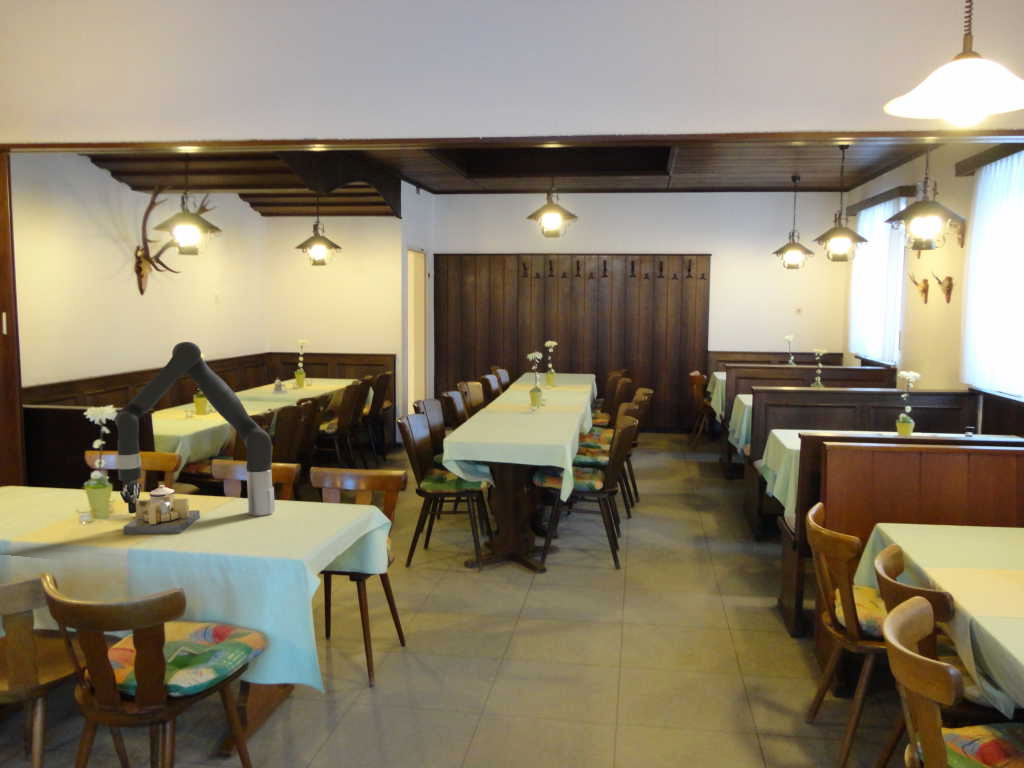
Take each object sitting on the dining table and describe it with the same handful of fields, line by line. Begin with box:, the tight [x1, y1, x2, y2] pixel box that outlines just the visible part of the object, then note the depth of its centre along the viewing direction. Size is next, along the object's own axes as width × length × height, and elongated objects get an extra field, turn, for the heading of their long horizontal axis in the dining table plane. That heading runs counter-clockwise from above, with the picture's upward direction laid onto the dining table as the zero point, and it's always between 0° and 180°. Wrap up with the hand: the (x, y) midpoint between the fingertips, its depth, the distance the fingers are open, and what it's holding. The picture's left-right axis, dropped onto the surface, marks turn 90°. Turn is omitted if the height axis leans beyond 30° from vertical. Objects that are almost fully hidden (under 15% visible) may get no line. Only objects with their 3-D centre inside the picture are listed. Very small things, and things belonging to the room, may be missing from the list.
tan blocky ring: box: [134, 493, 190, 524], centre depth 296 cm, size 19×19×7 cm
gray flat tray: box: [123, 500, 201, 536], centre depth 296 cm, size 20×20×9 cm
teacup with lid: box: [148, 484, 175, 504], centre depth 313 cm, size 12×9×12 cm
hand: (132, 512), depth 289 cm, fingers closed
